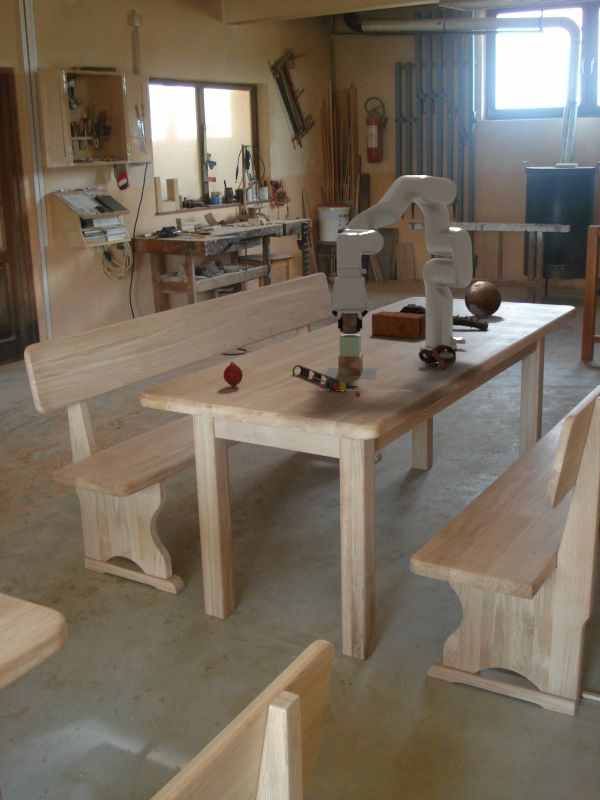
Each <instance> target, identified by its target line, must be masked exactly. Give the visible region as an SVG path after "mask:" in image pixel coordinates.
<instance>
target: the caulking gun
mask: <svg viewBox="0 0 600 800" xmlns="http://www.w3.org/2000/svg"><path fill="white" fill-rule="evenodd" d="M298 367H299V369H300V372H299V374H302V375H304V376H307V377H310V373H311V372H312V373H313V375H312V377H311V379H312V381H319V382H323V383H324V387H325V388H326V389H327V390H328V389H329V391H331V390H332V391H331V392H333V391H336V390H337V391H336V392H341V391H342V390H345V391H344V392H347V393H350V394H352V395H355V398H358V399H359V398H360V396H361V392H359V391H357V392H354V391H352V390H350V388H351V389H355V387H356V388H359V386H358V385H352V384H350V385H349V383H348V382H347V383H344V382H340V380H338V378H332V377H329V376H327V375H325V374H323V373H321V372H319V371H316V370H314V369H310V368H308V367H306V366H303V365H299V364H296V365H295V366H294V367H293V368H292V374H293V375H296V373H295V369H296V368H298ZM310 371H311V372H310ZM322 376H323V377H324V376H325V377H326V378H325V379H326V380H324V379H323V377H322ZM327 377H328V378H327Z"/></svg>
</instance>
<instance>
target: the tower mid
mask: <svg viewBox="0 0 600 800" xmlns="http://www.w3.org/2000/svg"><path fill="white" fill-rule="evenodd" d="M361 338H362V336H361V334H360V333H356V334H344V333H341V335H340V337H339V354H340V357H359V356H360V353H361V352H362V348H361V347H362V343H361Z"/></svg>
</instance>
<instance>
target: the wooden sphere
mask: <svg viewBox="0 0 600 800" xmlns="http://www.w3.org/2000/svg"><path fill="white" fill-rule="evenodd" d="M502 301H503V298H502V292H501V289H500V288H499V287H498V286H497V285H496V284H495V283H493V282H491V281H489V280H479V281H478V280H477V281H475V282H474V283H472V284H471V285H470V286H469V287H467V290H466V291H465V294H464V303H465V304H464V305H465V307H466V309H467V311H468V312H469V313H471V314H472V315H473V316H475V317H477V318H489V317H490V316H492V315H494V314H495V313H496V312H498V310H499V309H500V307H501V304H502Z"/></svg>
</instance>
